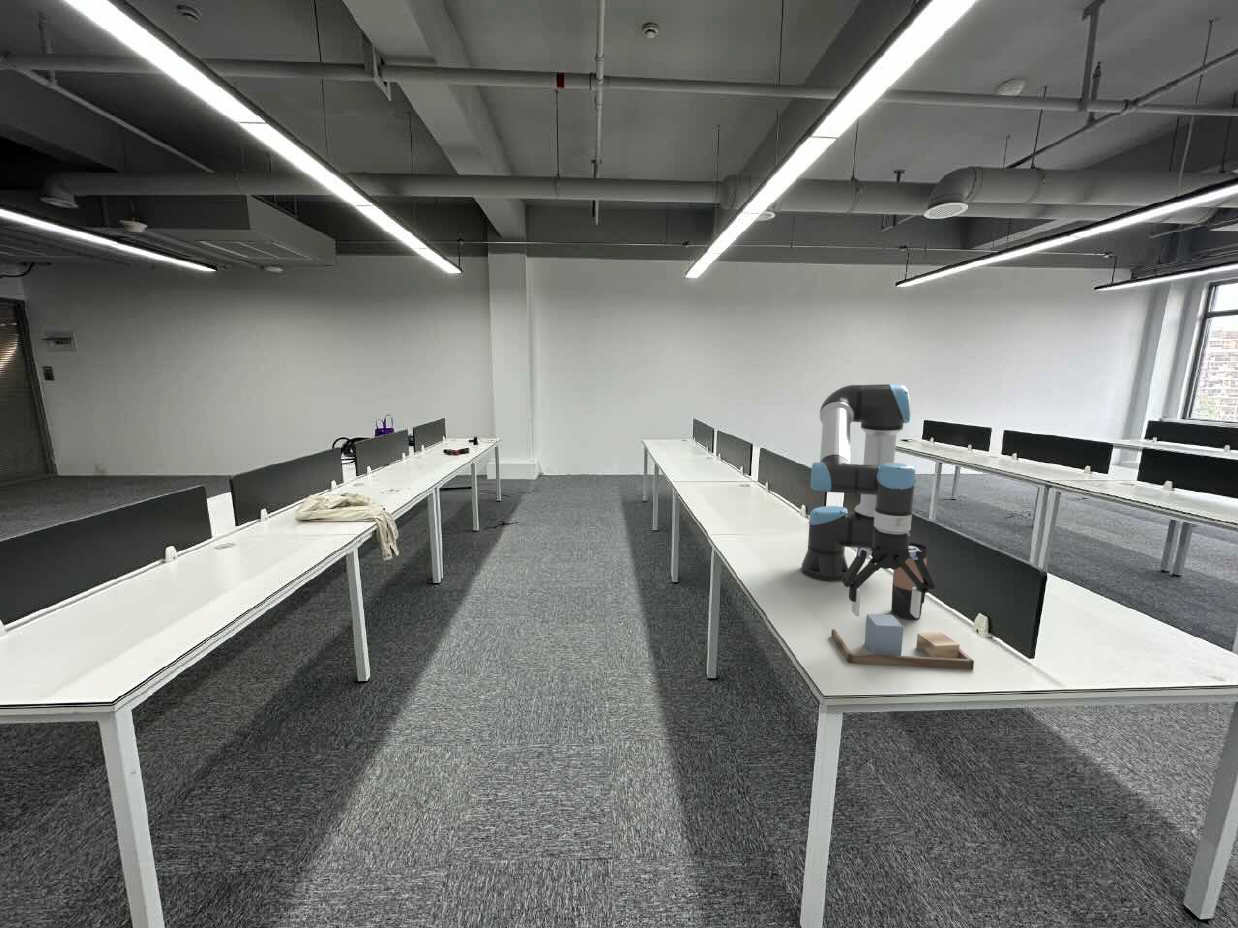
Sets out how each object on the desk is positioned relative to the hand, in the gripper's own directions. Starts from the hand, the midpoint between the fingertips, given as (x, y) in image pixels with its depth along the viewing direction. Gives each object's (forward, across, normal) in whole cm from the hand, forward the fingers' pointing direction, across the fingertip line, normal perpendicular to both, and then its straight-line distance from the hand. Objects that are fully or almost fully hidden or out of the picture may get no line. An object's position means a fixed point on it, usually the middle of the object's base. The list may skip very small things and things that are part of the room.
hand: (884, 614), depth 116 cm
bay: (+9, +3, -1) cm, 10 cm away
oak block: (+9, +12, -1) cm, 15 cm away
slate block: (+9, 0, -1) cm, 9 cm away
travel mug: (+10, +15, +20) cm, 27 cm away
